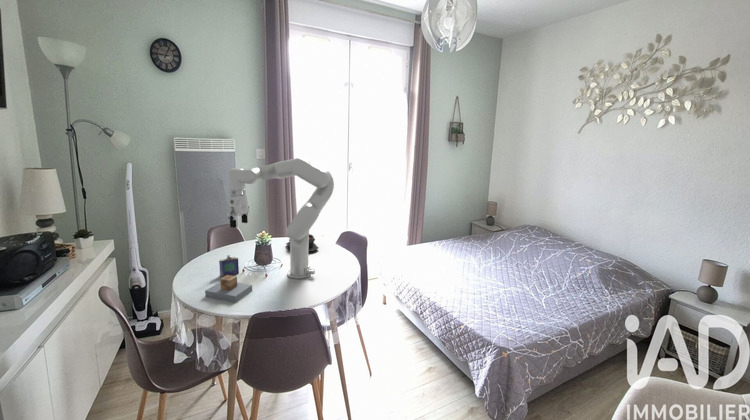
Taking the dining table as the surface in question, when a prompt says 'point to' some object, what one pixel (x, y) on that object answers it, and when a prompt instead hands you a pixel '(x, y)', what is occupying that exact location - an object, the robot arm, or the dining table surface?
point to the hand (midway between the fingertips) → (239, 225)
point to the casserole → (311, 244)
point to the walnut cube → (228, 282)
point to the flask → (229, 266)
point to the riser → (228, 292)
